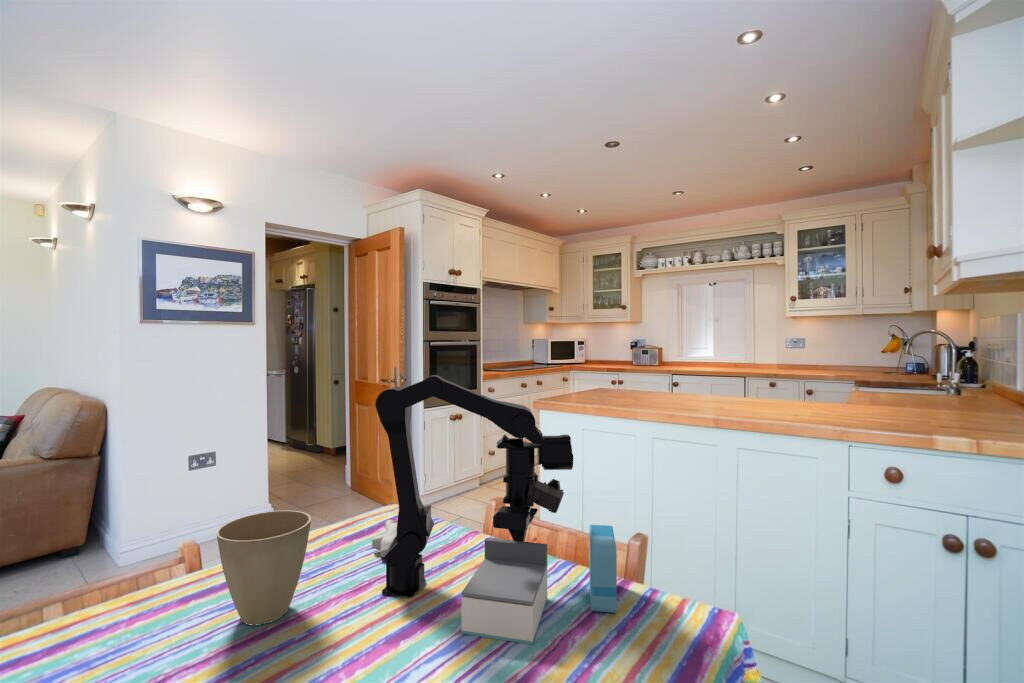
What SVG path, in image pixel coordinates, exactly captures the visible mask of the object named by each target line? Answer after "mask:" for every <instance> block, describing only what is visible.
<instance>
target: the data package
mask: <svg viewBox="0 0 1024 683" xmlns="http://www.w3.org/2000/svg"><path fill="white" fill-rule="evenodd" d="M588 528H589V538H588V539H589V544H588V545H589V552H588V553H589V557H588V558H589V559H588V560H589V564H588V565H589V569H588V570H589V571H588V572H589V575H588V576H589V596H590V598H589V599H590V600H589V601H590V610H591V612H599V613H601V612H602V613H614V614H616V613H617V611H618V610H617V609H618V607H617V605H618V604H617V602H618V598H617V596H618V592H617V590H618V588H617V587H618V584H617V580H618V579H617V575H618V572H617V571H618V570H617V568H618V566H617V562H618V560H617V557H618V555H617V544H616V539H615V533H614V528H613V525H601V524H589V527H588Z"/></svg>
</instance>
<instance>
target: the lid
mask: <svg viewBox="0 0 1024 683" xmlns="http://www.w3.org/2000/svg"><path fill="white" fill-rule="evenodd" d="M546 568H547V569H548V543H540V542H531V541H530V542H529V541H525V542H522V541H513V539H512V540H511V539H510V540H509V539H501V538H494V537H493V538H489V537H486V538H485V539H484V558H483V560H482V561H481V563H480V565H479V566H478V568H477V569H476V571H475V572H474V574H473V575H472V576H471V578H470V580H469V581H468V582H467V584H466V585H465V587H464V588H463V589H462V591H461V596H470V597H478V598H485V599H492V600H500V601H507V602H514V603H522V604H529V605H533V602H534V600H535V597H536V594H537V592H538V589H539V586H540V584H541V581H542V578H543V576H544V573H545V570H546Z"/></svg>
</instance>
